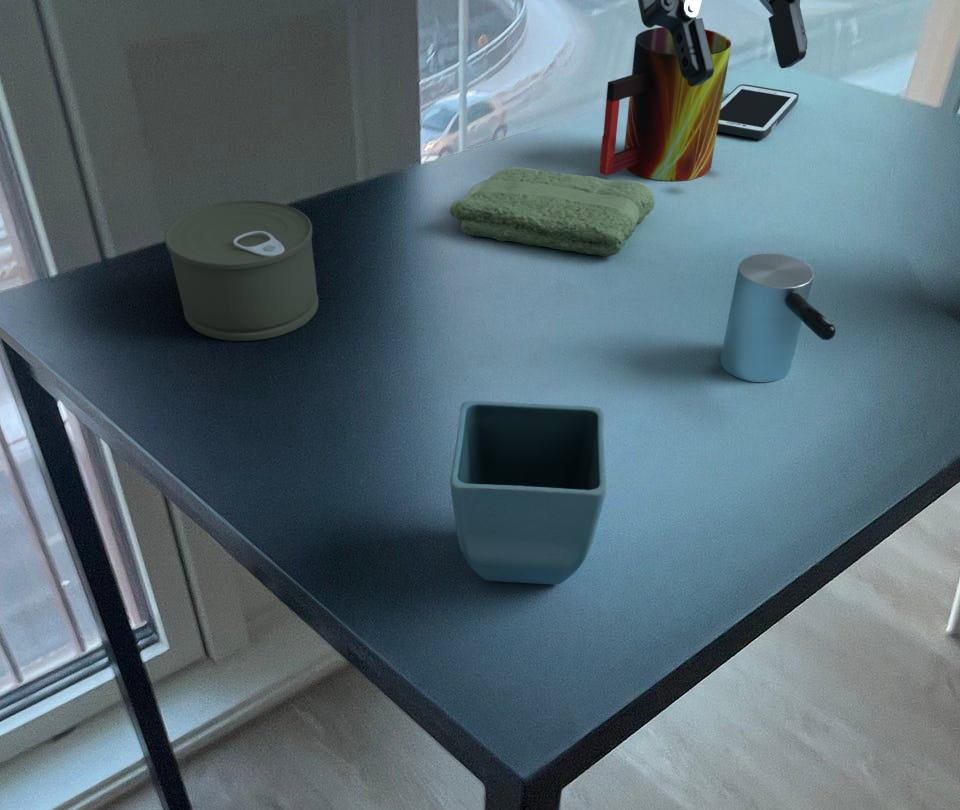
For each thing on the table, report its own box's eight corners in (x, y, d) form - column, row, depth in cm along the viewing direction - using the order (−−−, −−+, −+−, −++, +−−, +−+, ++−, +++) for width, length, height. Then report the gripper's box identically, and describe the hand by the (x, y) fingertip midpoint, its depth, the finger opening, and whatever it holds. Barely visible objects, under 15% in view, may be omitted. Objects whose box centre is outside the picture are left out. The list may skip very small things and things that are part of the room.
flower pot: (591, 518, 68) (604, 404, 62) (593, 609, 62) (607, 493, 56) (462, 512, 69) (461, 398, 62) (451, 602, 62) (448, 486, 56)
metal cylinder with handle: (708, 352, 83) (725, 258, 77) (768, 341, 84) (790, 249, 79) (774, 425, 76) (799, 328, 70) (840, 413, 77) (869, 316, 71)
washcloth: (496, 184, 107) (496, 152, 104) (657, 213, 102) (661, 180, 99) (444, 234, 98) (443, 201, 96) (616, 268, 93) (620, 234, 91)
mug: (596, 185, 106) (607, 60, 98) (638, 141, 115) (652, 21, 106) (685, 202, 104) (704, 74, 95) (721, 155, 112) (741, 34, 104)
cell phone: (799, 101, 124) (801, 93, 123) (763, 141, 115) (765, 132, 114) (738, 91, 126) (740, 82, 125) (699, 129, 117) (700, 120, 116)
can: (269, 262, 94) (257, 187, 89) (348, 309, 88) (341, 231, 83) (155, 305, 88) (136, 228, 83) (232, 358, 82) (216, 278, 77)
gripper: (637, -205, 64) (702, 64, 67) (808, -218, 69) (860, 33, 72) (579, -131, 70) (641, 110, 74) (738, -148, 75) (788, 79, 79)
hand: (749, 72), depth 73 cm, fingers open, 8 cm apart
